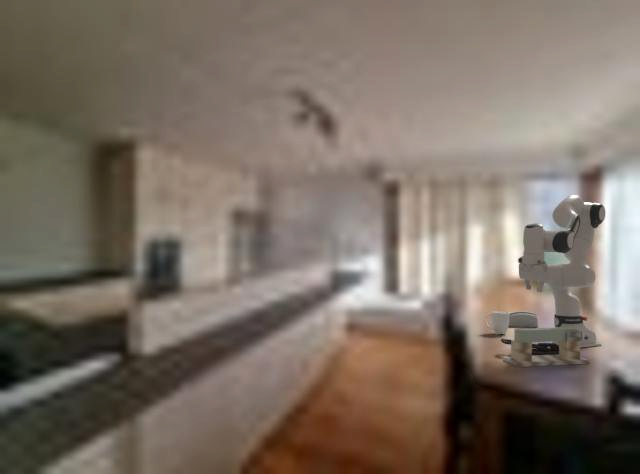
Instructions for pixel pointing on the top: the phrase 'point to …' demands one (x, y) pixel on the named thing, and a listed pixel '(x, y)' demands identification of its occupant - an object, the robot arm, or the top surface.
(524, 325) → the grey curved block
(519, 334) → the rail
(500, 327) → the mug
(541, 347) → the zipper pull
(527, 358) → the rail posts
